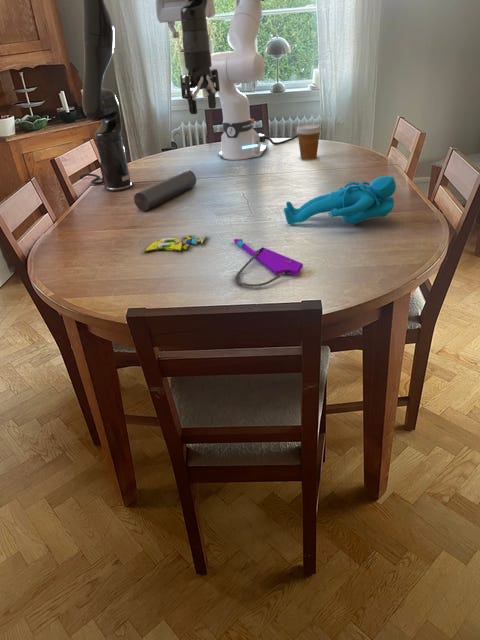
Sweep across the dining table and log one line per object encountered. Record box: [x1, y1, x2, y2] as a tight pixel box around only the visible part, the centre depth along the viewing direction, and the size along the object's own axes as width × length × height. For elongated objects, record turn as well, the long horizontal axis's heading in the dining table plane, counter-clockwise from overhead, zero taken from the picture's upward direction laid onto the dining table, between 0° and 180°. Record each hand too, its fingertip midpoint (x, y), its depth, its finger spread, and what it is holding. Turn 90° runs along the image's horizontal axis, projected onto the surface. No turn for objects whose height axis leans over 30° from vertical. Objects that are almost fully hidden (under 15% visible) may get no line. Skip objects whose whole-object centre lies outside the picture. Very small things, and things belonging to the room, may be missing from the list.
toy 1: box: [144, 234, 207, 254], centre depth 130 cm, size 10×1×15 cm
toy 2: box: [283, 175, 397, 226], centre depth 132 cm, size 17×11×30 cm
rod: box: [133, 169, 197, 212], centre depth 163 cm, size 26×6×6 cm, turn 148°
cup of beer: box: [296, 123, 322, 161], centre depth 190 cm, size 10×10×12 cm
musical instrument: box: [233, 238, 304, 287], centre depth 115 cm, size 24×2×20 cm
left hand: (203, 111), depth 143 cm, fingers open, 8 cm apart
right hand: (188, 37), depth 157 cm, fingers open, 8 cm apart
